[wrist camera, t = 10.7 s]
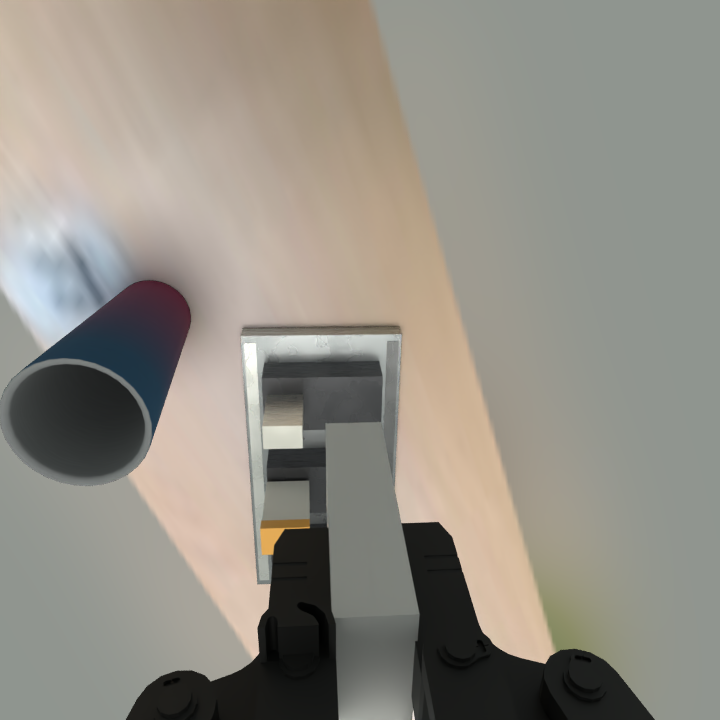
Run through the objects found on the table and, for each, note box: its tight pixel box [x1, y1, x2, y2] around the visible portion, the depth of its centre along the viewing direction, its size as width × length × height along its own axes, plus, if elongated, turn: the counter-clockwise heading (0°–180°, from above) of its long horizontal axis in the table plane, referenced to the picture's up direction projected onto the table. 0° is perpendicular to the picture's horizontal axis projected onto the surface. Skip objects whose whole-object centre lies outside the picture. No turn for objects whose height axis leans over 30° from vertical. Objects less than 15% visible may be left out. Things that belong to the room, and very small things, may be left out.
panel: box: [241, 327, 402, 584], centre depth 44 cm, size 22×11×8 cm, turn 179°
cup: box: [0, 280, 191, 486], centre depth 35 cm, size 7×7×15 cm
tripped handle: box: [260, 481, 310, 555], centre depth 41 cm, size 2×3×5 cm
